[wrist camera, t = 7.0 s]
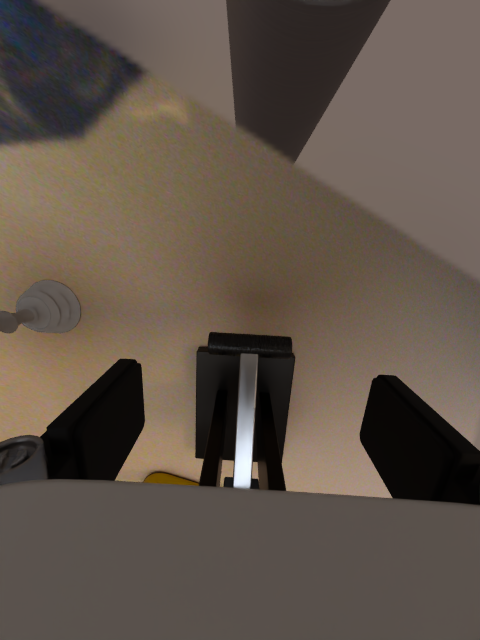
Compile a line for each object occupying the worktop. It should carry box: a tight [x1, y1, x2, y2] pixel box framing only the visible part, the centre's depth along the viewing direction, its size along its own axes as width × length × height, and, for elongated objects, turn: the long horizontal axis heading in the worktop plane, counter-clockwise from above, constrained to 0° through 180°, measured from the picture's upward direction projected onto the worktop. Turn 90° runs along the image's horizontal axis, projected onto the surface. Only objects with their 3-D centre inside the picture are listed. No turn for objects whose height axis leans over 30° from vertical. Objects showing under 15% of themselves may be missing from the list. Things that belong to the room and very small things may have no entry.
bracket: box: [195, 347, 295, 491], centre depth 20 cm, size 12×9×13 cm
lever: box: [208, 332, 292, 489], centre depth 16 cm, size 12×5×2 cm, turn 178°
